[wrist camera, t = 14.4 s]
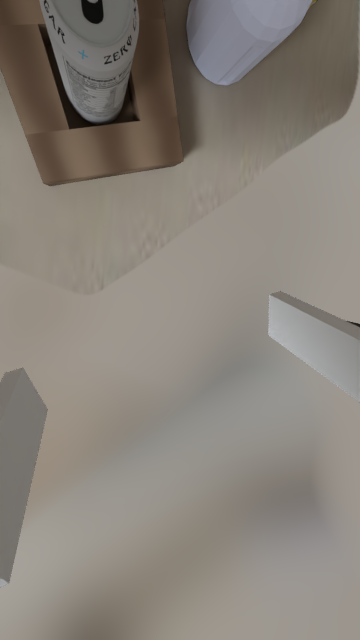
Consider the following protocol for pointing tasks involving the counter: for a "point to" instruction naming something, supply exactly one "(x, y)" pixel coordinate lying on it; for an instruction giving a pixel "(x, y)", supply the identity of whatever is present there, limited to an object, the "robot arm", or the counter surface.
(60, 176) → the holder block
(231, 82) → the soap bottle
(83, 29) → the energy drink can
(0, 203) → the counter surface
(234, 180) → the counter surface
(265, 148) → the counter surface
